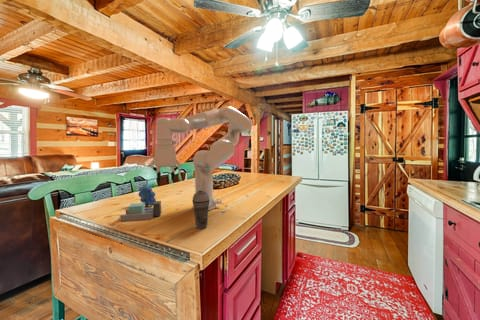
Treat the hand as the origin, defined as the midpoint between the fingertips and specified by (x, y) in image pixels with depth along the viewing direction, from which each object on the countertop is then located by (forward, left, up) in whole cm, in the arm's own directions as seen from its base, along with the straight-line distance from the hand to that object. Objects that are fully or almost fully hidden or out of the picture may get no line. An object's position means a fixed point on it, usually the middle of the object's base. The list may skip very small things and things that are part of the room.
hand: (166, 180), depth 112 cm
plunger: (+7, 0, -17) cm, 18 cm away
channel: (+13, 0, -17) cm, 22 cm away
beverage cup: (-16, +21, -18) cm, 32 cm away
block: (+14, 0, -18) cm, 22 cm away
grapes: (+13, -18, -18) cm, 28 cm away
